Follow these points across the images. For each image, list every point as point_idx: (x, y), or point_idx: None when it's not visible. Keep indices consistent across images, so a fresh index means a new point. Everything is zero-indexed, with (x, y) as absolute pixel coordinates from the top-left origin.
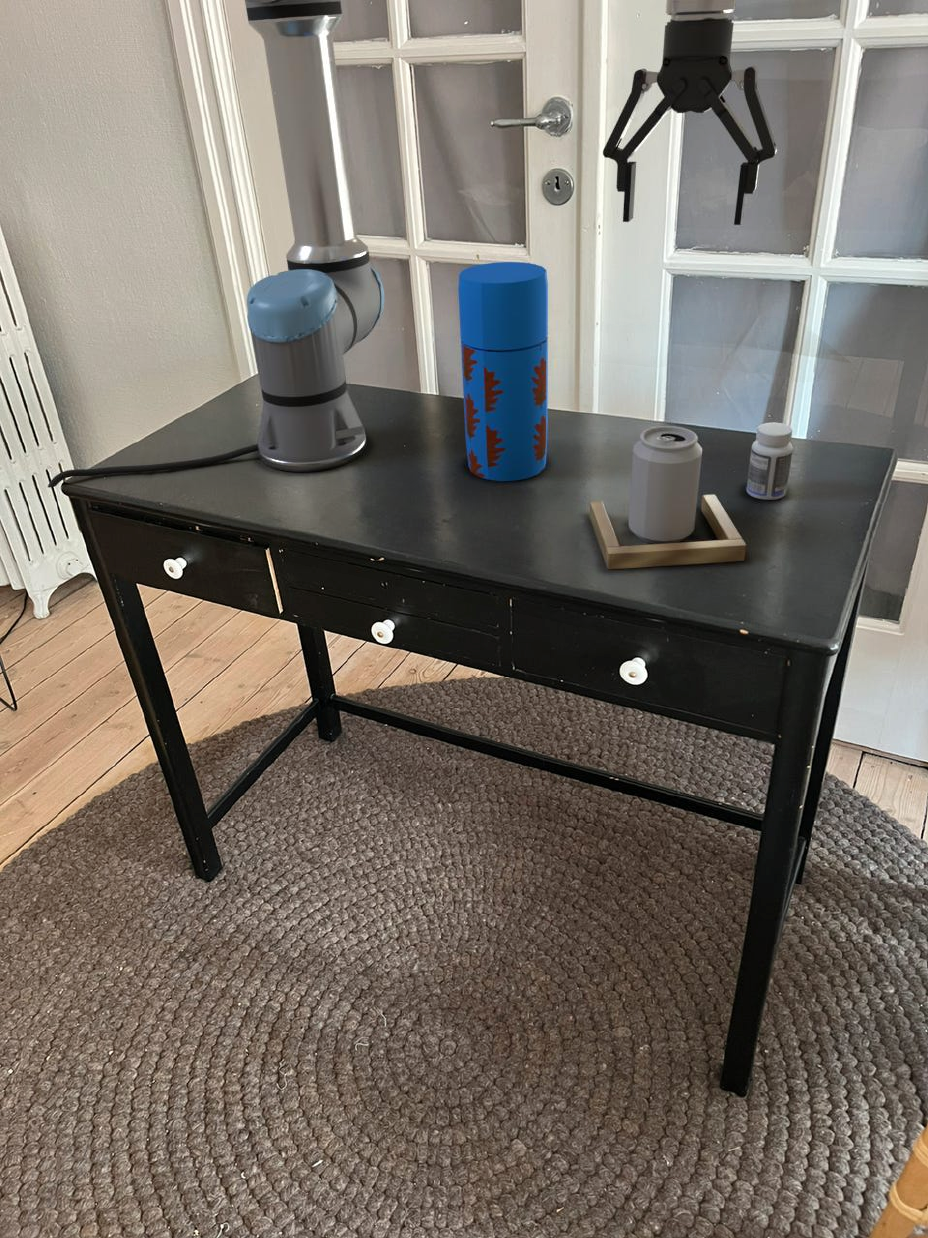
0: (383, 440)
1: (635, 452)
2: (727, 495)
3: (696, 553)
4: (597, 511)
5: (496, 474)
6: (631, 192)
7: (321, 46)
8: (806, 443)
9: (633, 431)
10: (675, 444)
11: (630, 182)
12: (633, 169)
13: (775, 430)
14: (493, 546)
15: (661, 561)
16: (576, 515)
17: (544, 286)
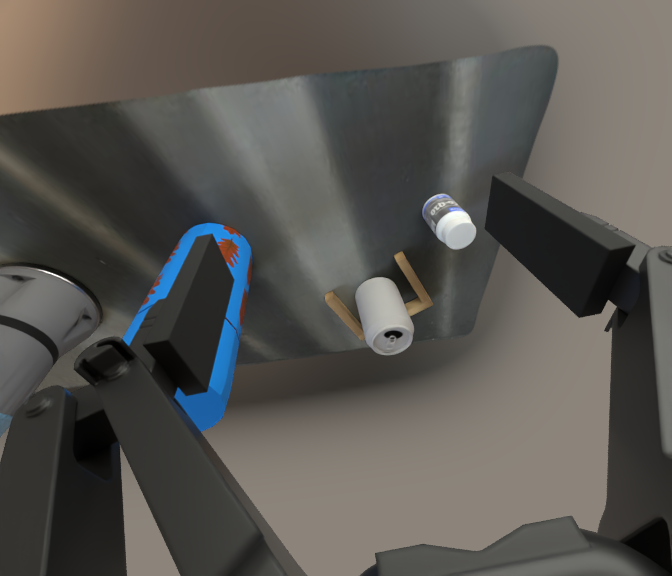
0: (72, 261)
1: (370, 346)
2: (408, 225)
3: None
4: (336, 309)
5: None
6: (216, 313)
7: None
8: (476, 66)
9: (279, 123)
10: (397, 342)
11: (216, 347)
12: (198, 356)
13: (461, 239)
14: (289, 341)
15: None
16: (315, 296)
17: (226, 384)
